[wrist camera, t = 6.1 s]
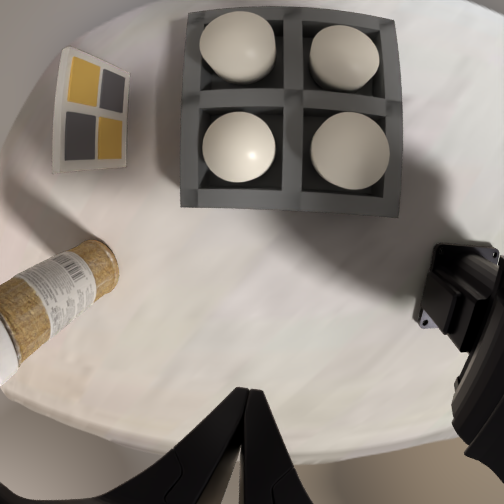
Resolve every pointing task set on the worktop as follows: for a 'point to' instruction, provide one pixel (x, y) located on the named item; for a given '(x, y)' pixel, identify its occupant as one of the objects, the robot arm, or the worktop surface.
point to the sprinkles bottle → (51, 299)
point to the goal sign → (89, 114)
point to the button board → (290, 117)
